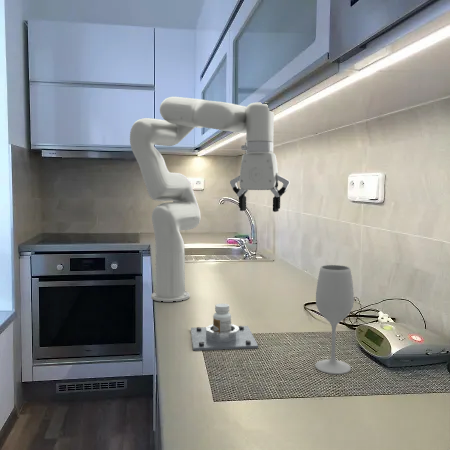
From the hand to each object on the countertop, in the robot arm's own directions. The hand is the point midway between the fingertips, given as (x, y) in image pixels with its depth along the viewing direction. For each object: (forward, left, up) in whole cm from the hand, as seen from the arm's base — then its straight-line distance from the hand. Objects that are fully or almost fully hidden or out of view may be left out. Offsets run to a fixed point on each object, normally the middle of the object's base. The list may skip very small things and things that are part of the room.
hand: (259, 211), depth 129 cm
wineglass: (+37, +9, -31) cm, 49 cm away
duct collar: (+17, -12, -30) cm, 37 cm away
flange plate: (+17, -12, -30) cm, 37 cm away
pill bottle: (+17, -12, -30) cm, 36 cm away
